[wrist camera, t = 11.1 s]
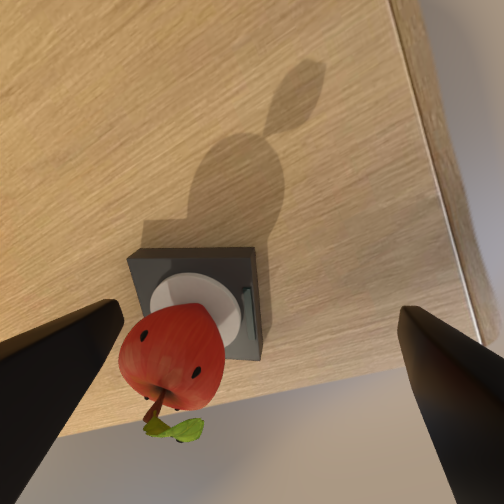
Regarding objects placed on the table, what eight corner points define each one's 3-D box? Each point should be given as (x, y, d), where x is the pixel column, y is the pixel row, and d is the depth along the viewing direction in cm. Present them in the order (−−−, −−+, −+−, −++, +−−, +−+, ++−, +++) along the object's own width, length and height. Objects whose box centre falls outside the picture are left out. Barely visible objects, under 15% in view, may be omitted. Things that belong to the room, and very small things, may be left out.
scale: (254, 246, 22) (249, 261, 19) (263, 344, 26) (259, 366, 23) (139, 248, 23) (121, 262, 21) (164, 339, 27) (151, 359, 25)
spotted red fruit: (204, 363, 24) (148, 503, 15) (141, 317, 23) (40, 439, 14) (260, 314, 21) (230, 455, 12) (189, 259, 20) (98, 367, 11)
